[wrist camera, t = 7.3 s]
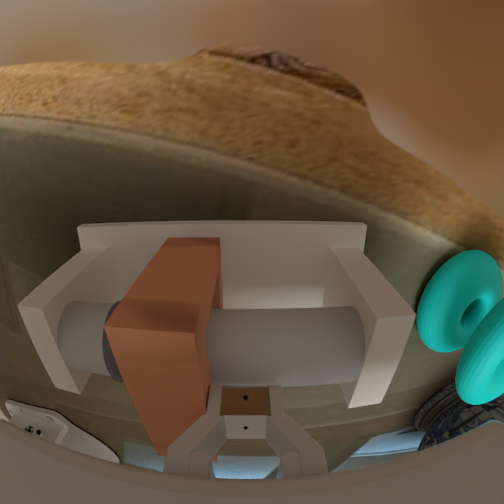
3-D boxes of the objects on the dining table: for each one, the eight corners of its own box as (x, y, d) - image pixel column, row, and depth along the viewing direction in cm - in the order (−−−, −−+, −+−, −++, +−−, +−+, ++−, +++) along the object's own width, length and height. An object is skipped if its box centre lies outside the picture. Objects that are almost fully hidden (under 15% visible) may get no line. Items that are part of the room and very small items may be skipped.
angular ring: (183, 353, 19) (158, 455, 11) (167, 237, 16) (103, 326, 8) (225, 355, 19) (216, 461, 11) (220, 237, 16) (193, 332, 8)
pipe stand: (105, 325, 22) (58, 403, 13) (82, 224, 18) (0, 279, 10) (344, 330, 22) (381, 418, 13) (362, 222, 19) (436, 285, 10)
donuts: (443, 425, 14) (515, 305, 10) (396, 343, 23) (430, 240, 19) (515, 394, 14) (569, 296, 10) (467, 334, 23) (500, 248, 19)
